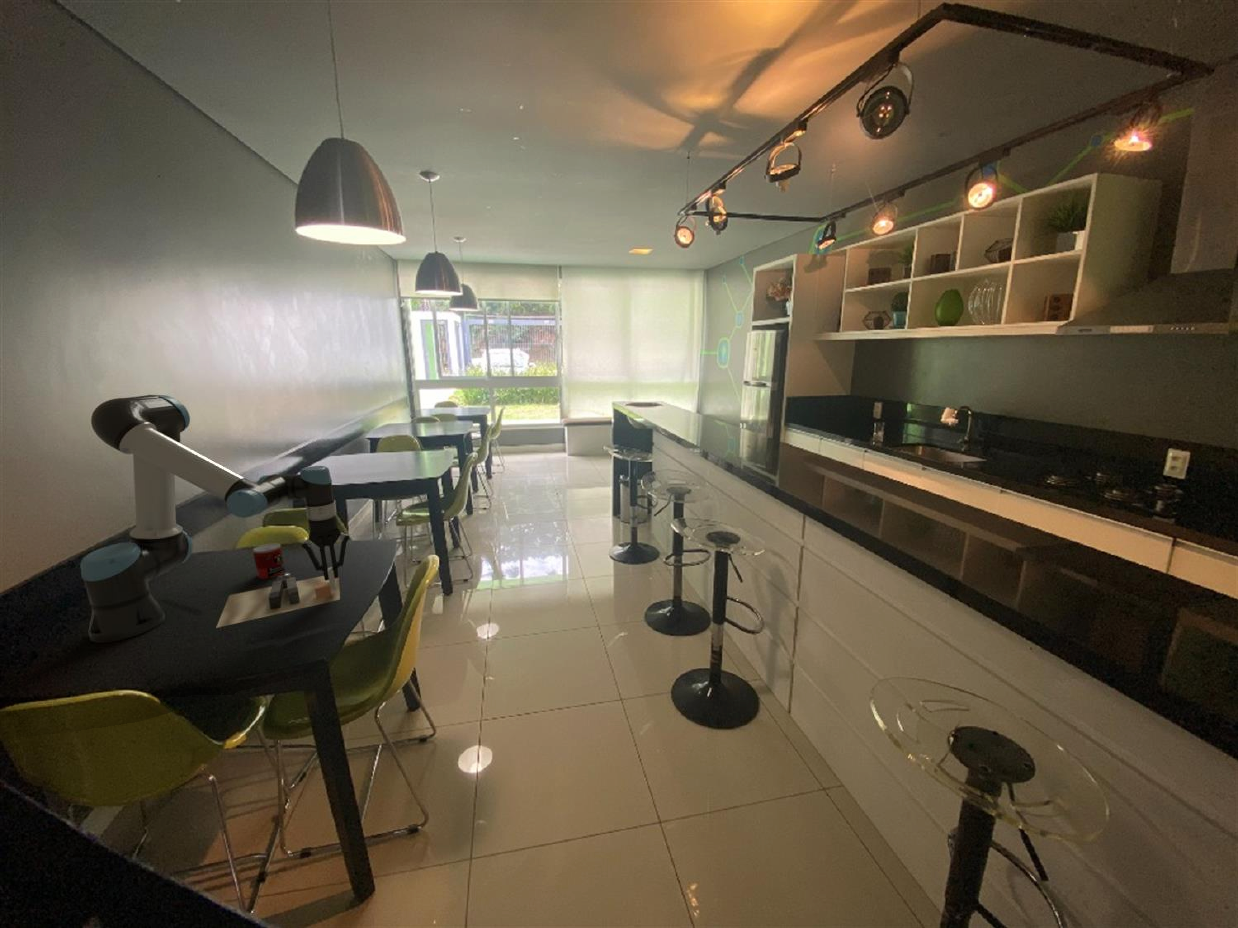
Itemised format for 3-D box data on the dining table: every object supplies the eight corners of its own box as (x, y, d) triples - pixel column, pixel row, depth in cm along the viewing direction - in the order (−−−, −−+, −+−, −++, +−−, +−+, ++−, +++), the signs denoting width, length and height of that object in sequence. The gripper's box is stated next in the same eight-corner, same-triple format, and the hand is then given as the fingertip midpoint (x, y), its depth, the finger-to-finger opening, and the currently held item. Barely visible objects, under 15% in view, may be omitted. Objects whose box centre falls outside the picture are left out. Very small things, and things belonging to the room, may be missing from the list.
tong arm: (287, 588, 157) (286, 578, 156) (297, 586, 158) (295, 576, 157) (290, 604, 146) (288, 594, 146) (300, 602, 148) (298, 591, 147)
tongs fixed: (276, 585, 159) (273, 574, 158) (292, 582, 161) (291, 571, 160) (270, 609, 144) (268, 597, 143) (289, 605, 146) (287, 593, 145)
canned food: (272, 582, 164) (266, 552, 161) (252, 580, 166) (246, 550, 163) (291, 572, 171) (286, 543, 169) (272, 571, 173) (266, 542, 170)
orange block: (316, 599, 150) (314, 588, 149) (316, 595, 152) (315, 584, 151) (331, 595, 152) (329, 585, 151) (331, 591, 154) (329, 581, 153)
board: (216, 631, 135) (216, 627, 135) (230, 598, 153) (229, 595, 153) (340, 602, 150) (339, 599, 149) (339, 575, 168) (338, 572, 168)
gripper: (296, 524, 141) (308, 598, 146) (347, 516, 148) (357, 587, 153) (297, 517, 148) (309, 588, 153) (346, 510, 154) (356, 578, 159)
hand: (333, 588), depth 153 cm, fingers closed
